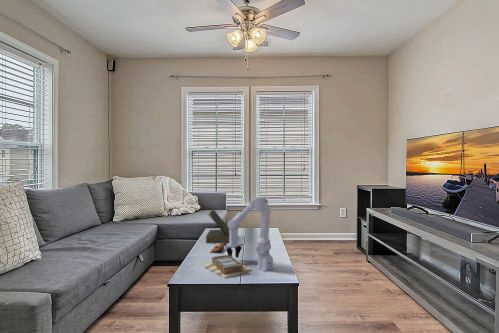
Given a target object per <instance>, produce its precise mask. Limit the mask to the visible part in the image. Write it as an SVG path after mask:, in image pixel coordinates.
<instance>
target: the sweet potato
mask: <svg viewBox="0 0 499 333" xmlns="http://www.w3.org/2000/svg"><path fill="white" fill-rule="evenodd" d="M226 245H228V243H225V242H224V243H218V244H217V245H215V246H214V247H213V248H212V249H211V250H210V252H209V254H221V253H222V252H223V250H225V249H224V246H226Z"/></svg>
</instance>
